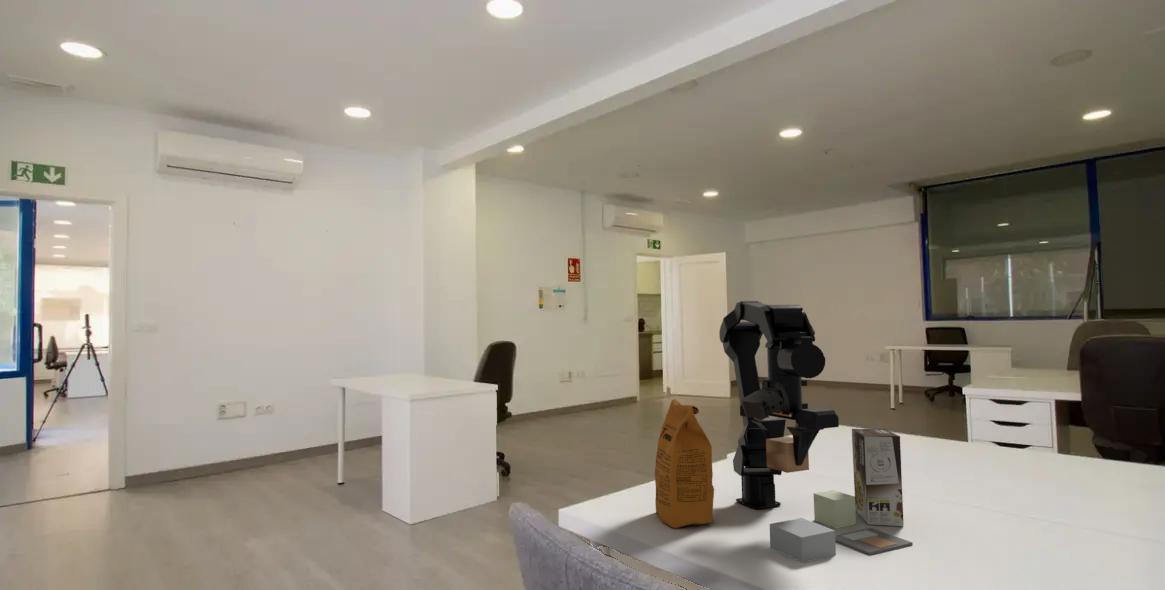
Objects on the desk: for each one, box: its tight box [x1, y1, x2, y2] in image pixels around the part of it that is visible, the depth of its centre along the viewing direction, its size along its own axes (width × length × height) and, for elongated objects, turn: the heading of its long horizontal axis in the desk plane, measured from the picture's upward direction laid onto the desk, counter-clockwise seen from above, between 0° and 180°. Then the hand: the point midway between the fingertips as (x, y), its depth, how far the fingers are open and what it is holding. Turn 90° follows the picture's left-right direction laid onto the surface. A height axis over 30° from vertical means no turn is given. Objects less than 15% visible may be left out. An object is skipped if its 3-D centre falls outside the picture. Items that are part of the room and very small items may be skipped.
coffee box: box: [851, 428, 904, 527], centre depth 110 cm, size 9×6×16 cm
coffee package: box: [654, 398, 715, 529], centre depth 111 cm, size 10×12×22 cm
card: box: [835, 527, 914, 556], centre depth 97 cm, size 8×10×1 cm
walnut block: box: [766, 436, 810, 474], centre depth 104 cm, size 5×5×5 cm
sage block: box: [813, 489, 857, 529], centre depth 108 cm, size 5×5×5 cm
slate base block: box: [769, 517, 837, 563], centre depth 94 cm, size 7×7×4 cm
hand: (787, 462), depth 104 cm, fingers closed on walnut block, 5 cm apart
